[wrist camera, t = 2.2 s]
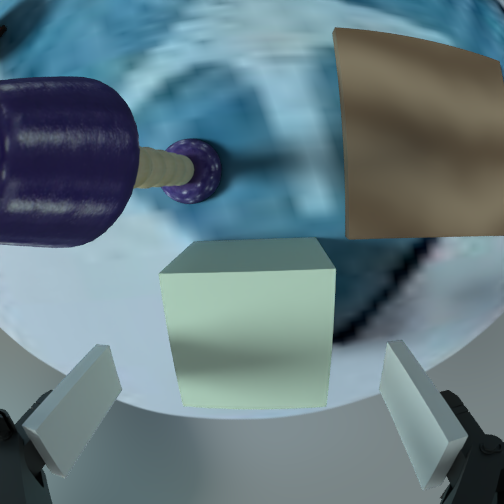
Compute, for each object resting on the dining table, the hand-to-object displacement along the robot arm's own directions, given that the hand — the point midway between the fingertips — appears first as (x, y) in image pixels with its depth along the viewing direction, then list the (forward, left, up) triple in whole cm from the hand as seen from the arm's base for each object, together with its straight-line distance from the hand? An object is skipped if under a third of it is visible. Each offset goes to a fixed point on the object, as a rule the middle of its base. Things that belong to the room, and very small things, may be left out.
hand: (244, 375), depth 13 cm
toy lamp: (-9, -4, -9) cm, 13 cm away
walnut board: (-11, +13, -8) cm, 19 cm away
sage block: (0, 0, -9) cm, 9 cm away
